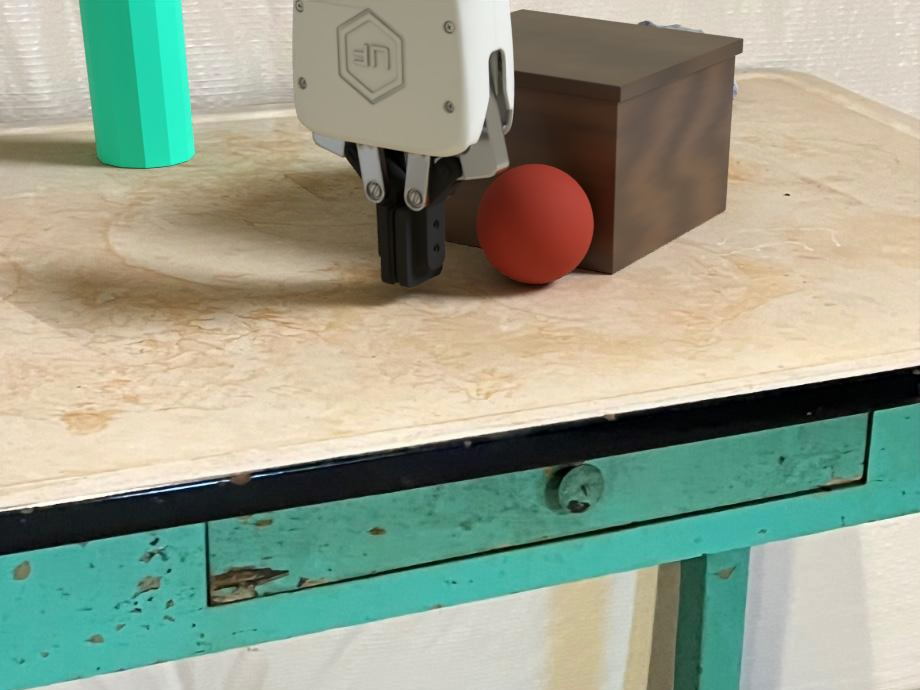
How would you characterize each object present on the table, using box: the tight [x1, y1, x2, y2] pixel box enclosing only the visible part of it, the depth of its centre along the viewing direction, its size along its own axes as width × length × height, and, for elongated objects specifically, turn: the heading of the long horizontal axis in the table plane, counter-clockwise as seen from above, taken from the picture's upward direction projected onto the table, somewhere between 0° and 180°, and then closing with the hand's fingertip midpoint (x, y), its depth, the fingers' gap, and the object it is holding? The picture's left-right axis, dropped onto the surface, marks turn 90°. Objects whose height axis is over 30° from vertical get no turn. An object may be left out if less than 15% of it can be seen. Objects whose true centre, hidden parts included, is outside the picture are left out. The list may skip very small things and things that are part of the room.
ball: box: [476, 164, 594, 285], centre depth 87 cm, size 6×6×6 cm
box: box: [445, 8, 744, 275], centre depth 95 cm, size 15×15×10 cm
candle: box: [78, 0, 196, 169], centre depth 104 cm, size 6×6×12 cm
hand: (412, 277), depth 85 cm, fingers closed
